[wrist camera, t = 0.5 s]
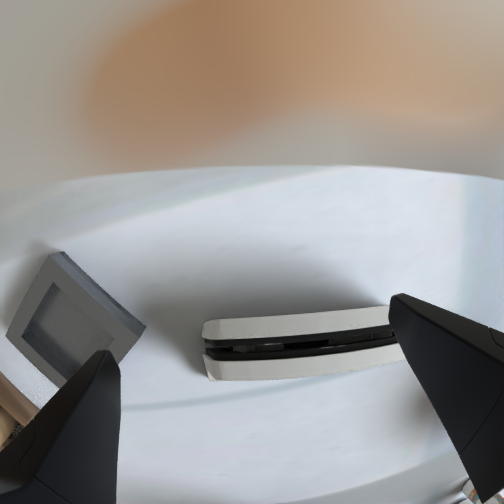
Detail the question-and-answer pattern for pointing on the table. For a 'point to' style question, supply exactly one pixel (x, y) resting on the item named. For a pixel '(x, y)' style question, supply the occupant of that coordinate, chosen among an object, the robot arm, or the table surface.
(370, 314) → the white plastic device casing
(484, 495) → the robot arm
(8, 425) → the oak axle peg
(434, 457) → the table surface
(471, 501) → the cosmetic set
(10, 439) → the walnut collar block
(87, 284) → the metal cradle
